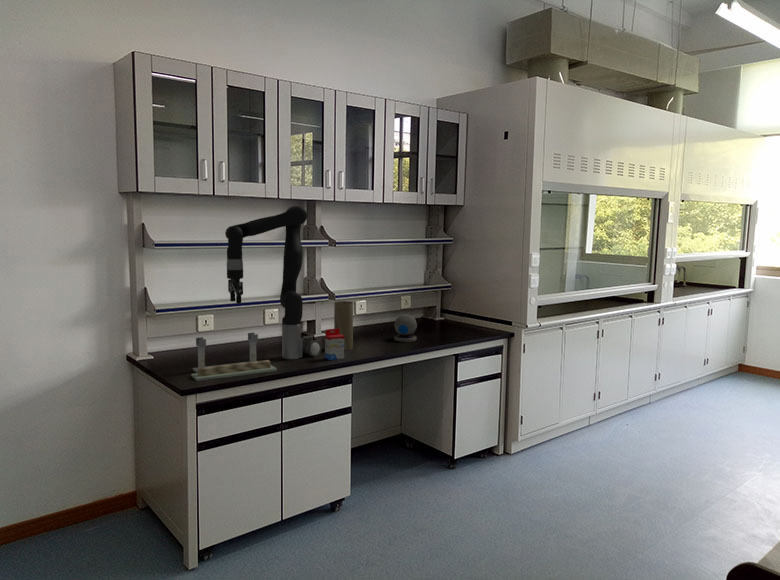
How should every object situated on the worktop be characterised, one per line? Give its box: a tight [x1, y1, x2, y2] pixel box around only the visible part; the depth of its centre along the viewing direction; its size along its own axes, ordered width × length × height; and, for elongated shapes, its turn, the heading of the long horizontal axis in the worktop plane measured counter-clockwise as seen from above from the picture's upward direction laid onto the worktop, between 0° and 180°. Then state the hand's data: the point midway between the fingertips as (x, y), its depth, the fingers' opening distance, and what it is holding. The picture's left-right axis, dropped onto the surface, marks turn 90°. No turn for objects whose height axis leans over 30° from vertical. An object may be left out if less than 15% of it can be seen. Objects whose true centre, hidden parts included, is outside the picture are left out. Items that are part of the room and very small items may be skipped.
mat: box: [190, 364, 278, 382], centre depth 262 cm, size 36×9×1 cm, turn 122°
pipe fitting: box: [302, 334, 322, 357], centre depth 301 cm, size 12×8×10 cm
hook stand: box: [192, 332, 259, 374], centre depth 270 cm, size 30×8×15 cm, turn 122°
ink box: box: [324, 328, 345, 361], centre depth 293 cm, size 8×5×15 cm, turn 126°
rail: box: [197, 359, 271, 377], centre depth 262 cm, size 32×3×3 cm, turn 122°
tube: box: [333, 300, 354, 351], centre depth 316 cm, size 10×10×25 cm
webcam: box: [393, 313, 418, 343], centre depth 343 cm, size 13×13×15 cm
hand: (235, 302), depth 279 cm, fingers open, 8 cm apart
